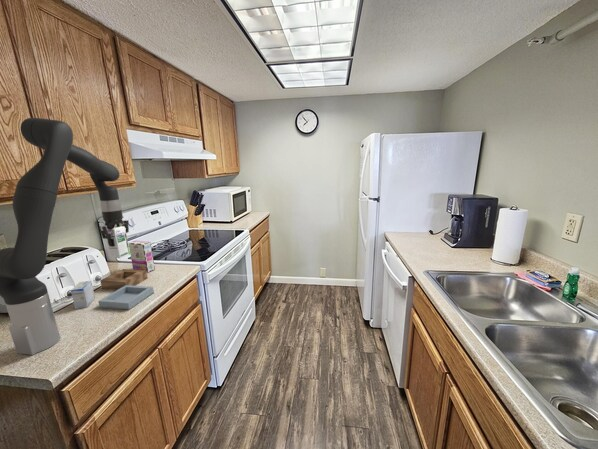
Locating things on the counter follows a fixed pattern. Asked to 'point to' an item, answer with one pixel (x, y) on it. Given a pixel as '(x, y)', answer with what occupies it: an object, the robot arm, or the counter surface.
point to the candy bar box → (141, 255)
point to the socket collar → (123, 279)
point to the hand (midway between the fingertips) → (118, 244)
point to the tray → (126, 297)
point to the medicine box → (82, 294)
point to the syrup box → (119, 243)
